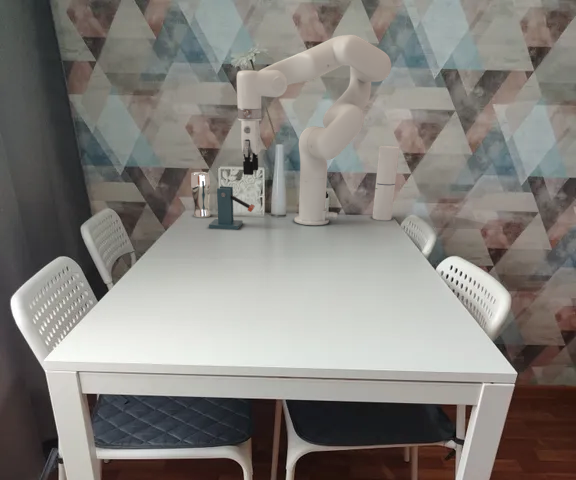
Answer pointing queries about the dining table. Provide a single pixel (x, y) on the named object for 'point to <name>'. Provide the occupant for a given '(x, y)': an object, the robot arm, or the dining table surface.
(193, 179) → the metal tumbler
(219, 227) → the bracket
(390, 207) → the cylindrical container
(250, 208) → the lever
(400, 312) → the dining table surface
